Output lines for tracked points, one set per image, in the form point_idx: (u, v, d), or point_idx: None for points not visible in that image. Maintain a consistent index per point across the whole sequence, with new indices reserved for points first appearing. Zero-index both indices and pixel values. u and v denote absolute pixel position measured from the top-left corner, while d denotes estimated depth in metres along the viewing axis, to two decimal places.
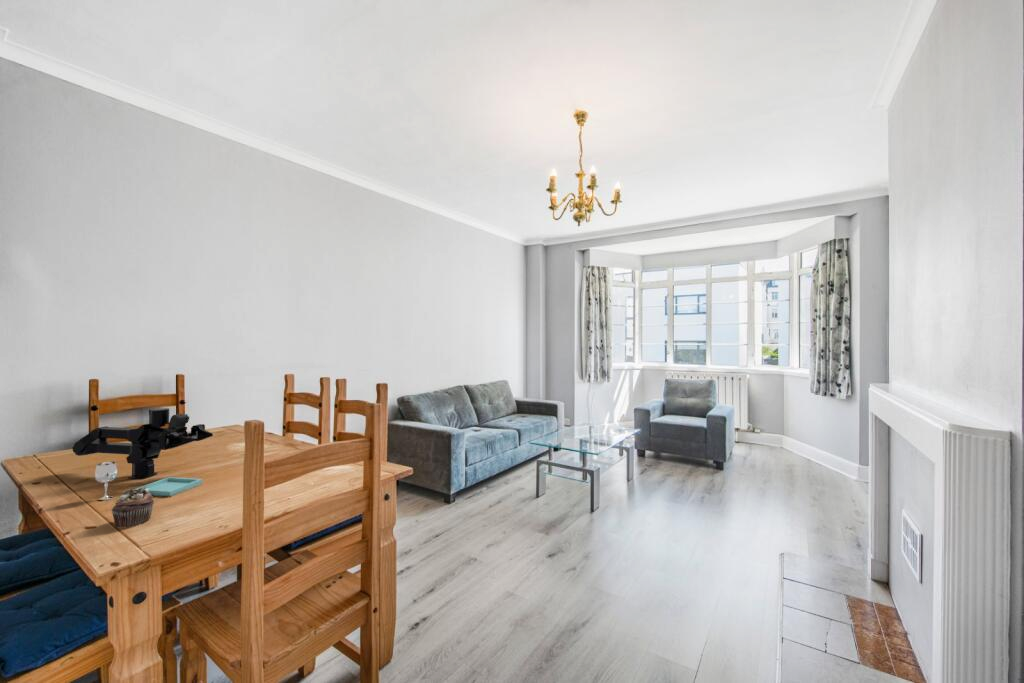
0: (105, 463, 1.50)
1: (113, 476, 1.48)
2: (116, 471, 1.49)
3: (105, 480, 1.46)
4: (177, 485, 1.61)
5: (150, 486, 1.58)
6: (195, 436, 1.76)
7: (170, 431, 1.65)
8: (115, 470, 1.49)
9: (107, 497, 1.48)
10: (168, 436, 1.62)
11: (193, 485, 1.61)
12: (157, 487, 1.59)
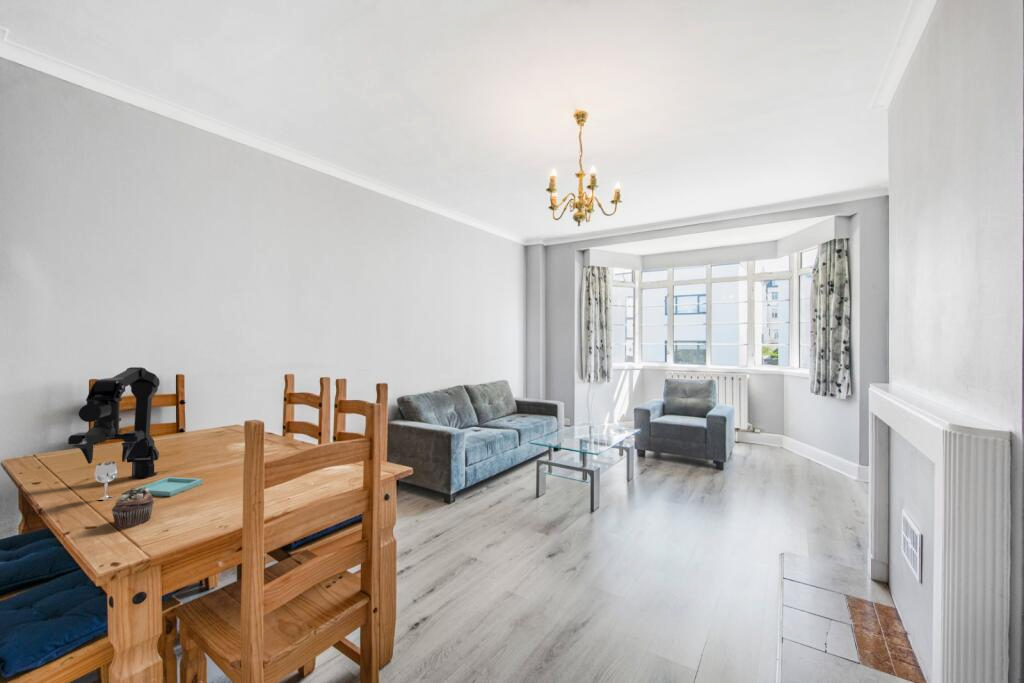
0: (105, 463, 1.50)
1: (113, 476, 1.48)
2: (116, 471, 1.49)
3: (105, 480, 1.46)
4: (177, 485, 1.61)
5: (150, 486, 1.58)
6: None
7: (80, 440, 1.44)
8: (115, 470, 1.49)
9: (107, 497, 1.48)
10: None
11: (193, 485, 1.61)
12: (157, 487, 1.59)
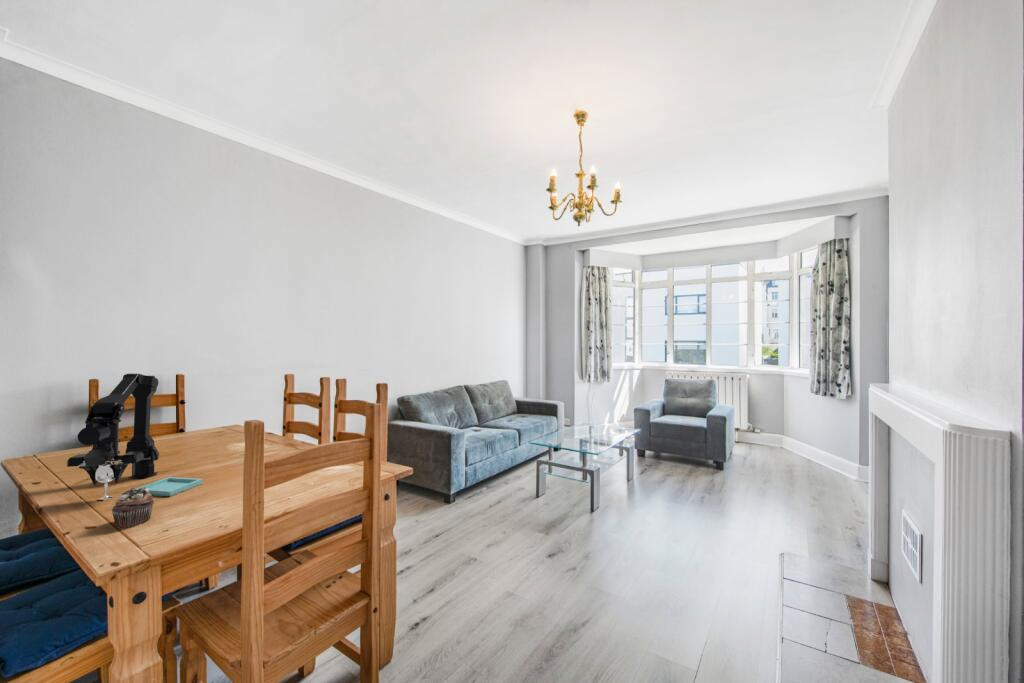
0: (105, 463, 1.50)
1: (113, 476, 1.48)
2: None
3: (105, 480, 1.46)
4: (177, 485, 1.61)
5: (150, 486, 1.58)
6: None
7: (79, 462, 1.44)
8: (115, 470, 1.49)
9: (107, 497, 1.48)
10: None
11: (193, 485, 1.61)
12: (157, 487, 1.59)
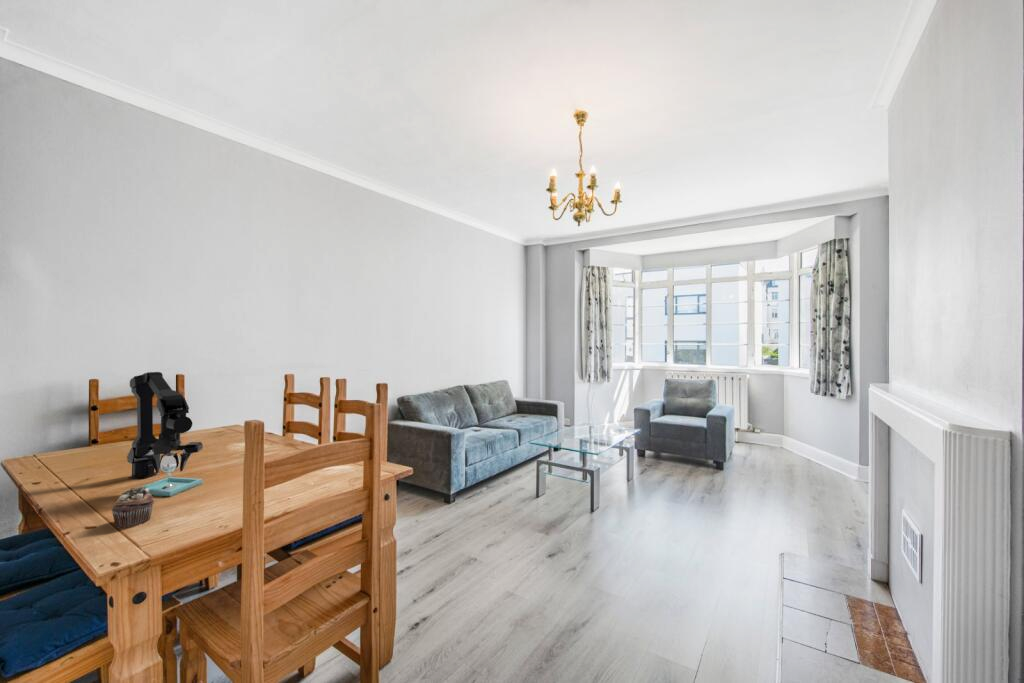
0: (168, 454, 1.60)
1: (176, 466, 1.59)
2: (178, 461, 1.60)
3: (169, 470, 1.57)
4: (177, 485, 1.61)
5: (150, 486, 1.58)
6: None
7: (147, 451, 1.54)
8: (177, 460, 1.59)
9: (171, 485, 1.59)
10: None
11: (193, 485, 1.61)
12: (157, 487, 1.59)
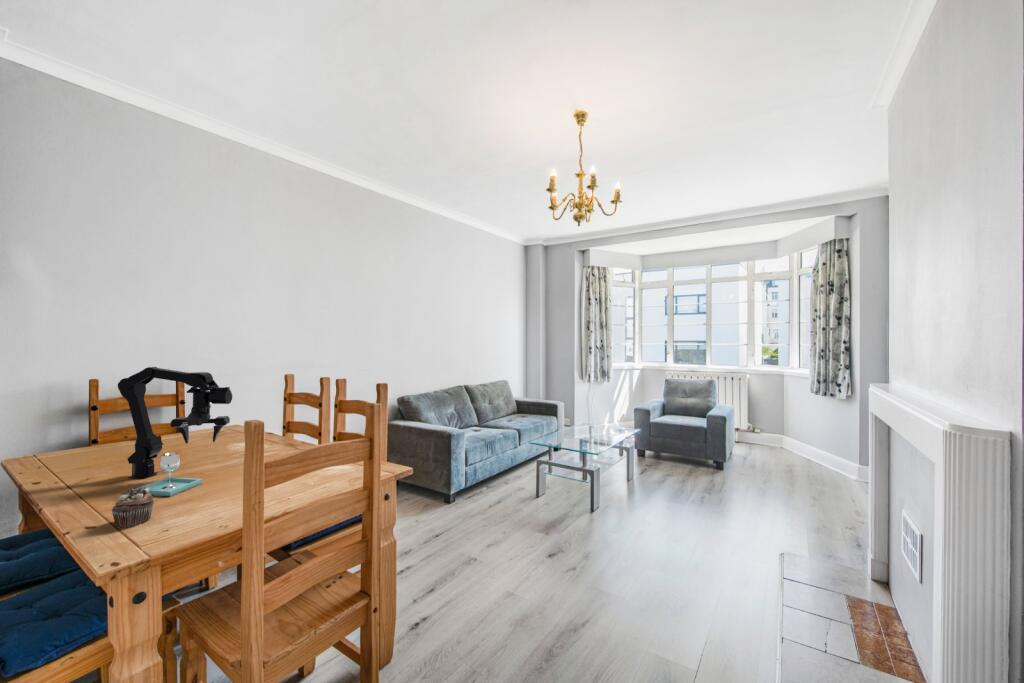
0: (168, 454, 1.61)
1: (176, 466, 1.59)
2: (179, 461, 1.60)
3: (169, 470, 1.57)
4: (177, 485, 1.61)
5: (150, 486, 1.58)
6: None
7: (181, 423, 1.70)
8: (178, 460, 1.59)
9: (171, 485, 1.59)
10: None
11: (193, 485, 1.61)
12: (157, 487, 1.59)
